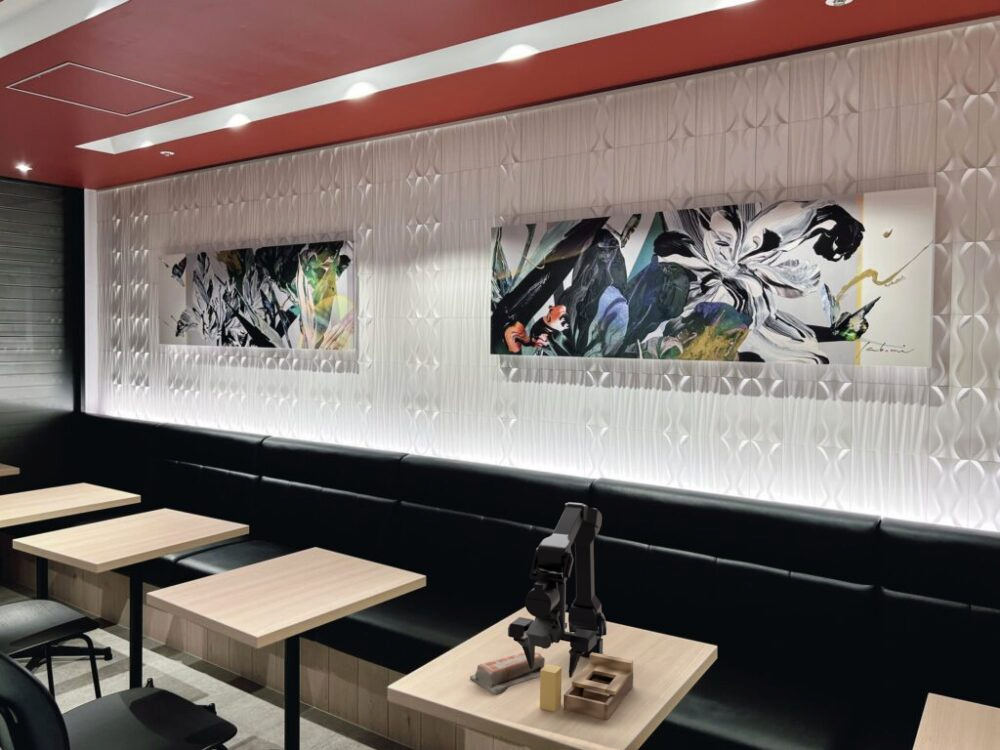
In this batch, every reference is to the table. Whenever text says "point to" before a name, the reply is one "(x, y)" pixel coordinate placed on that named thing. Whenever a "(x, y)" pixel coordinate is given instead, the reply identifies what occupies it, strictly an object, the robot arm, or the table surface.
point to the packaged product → (507, 672)
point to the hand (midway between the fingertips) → (551, 672)
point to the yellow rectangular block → (550, 687)
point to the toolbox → (595, 698)
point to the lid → (605, 673)
